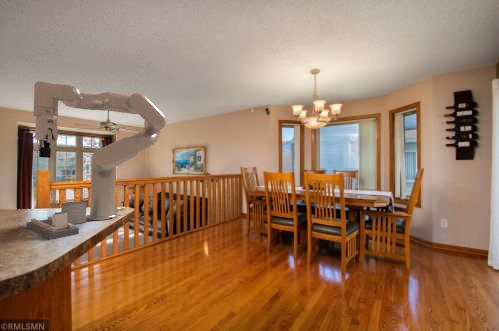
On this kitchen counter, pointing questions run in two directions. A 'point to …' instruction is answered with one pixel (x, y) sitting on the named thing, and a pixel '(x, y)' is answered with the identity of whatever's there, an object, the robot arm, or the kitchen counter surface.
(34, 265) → the kitchen counter surface
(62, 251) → the kitchen counter surface
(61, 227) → the fader tab
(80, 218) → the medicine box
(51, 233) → the console board
